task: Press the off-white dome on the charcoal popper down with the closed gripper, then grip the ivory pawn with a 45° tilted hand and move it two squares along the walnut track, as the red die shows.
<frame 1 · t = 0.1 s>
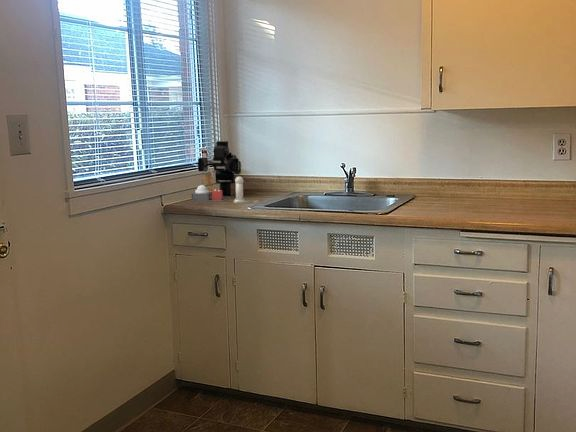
hand: (215, 166, 285), 17 cm above the counter, tool horizontal, fingers open, 9 cm apart
pawn: (239, 202, 282), point 1 cm above the counter, touching track board
track board: (250, 204, 284), on the counter
dome: (201, 190, 289), point 6 cm above the counter, slide at 0.0 cm
figurine: (210, 199, 300), on the counter
popper base: (209, 202, 289), on the counter
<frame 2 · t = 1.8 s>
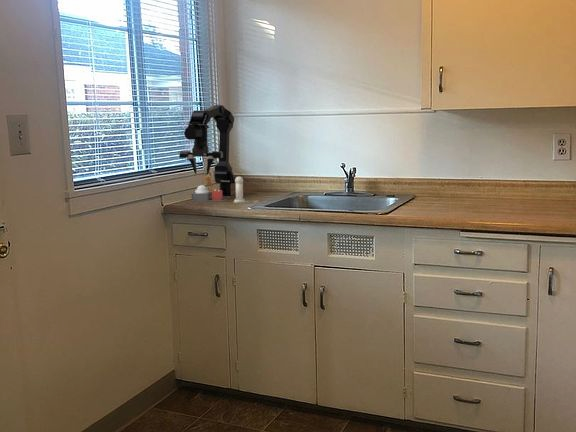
hand: (201, 173, 288), 13 cm above the counter, tool pointing down, fingers open, 5 cm apart
nothing on the counter moved.
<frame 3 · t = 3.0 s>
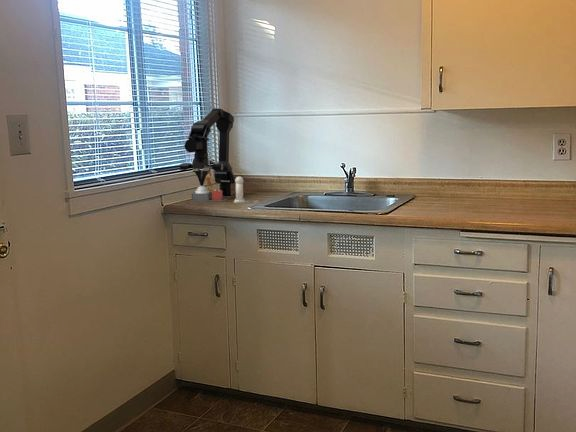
hand: (201, 185, 289), 8 cm above the counter, tool pointing down, fingers closed, pressing on dome
dome: (201, 190, 289), point 5 cm above the counter, slide at 0.3 cm, touching gripper
everything else where it was.
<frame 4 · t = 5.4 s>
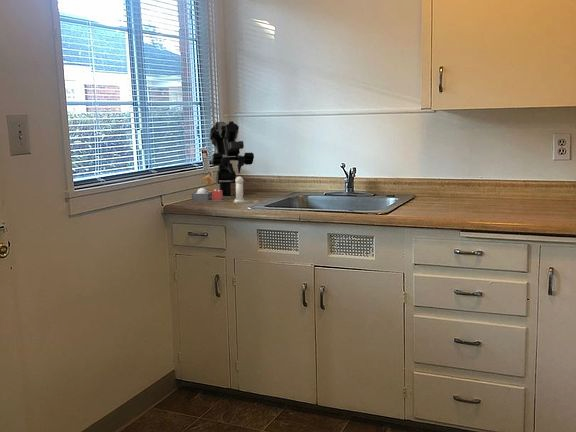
hand: (235, 173, 287), 14 cm above the counter, tool tilted 45°, fingers open, 3 cm apart
dome: (201, 193, 289), point 4 cm above the counter, slide at 1.3 cm
everything else where it was.
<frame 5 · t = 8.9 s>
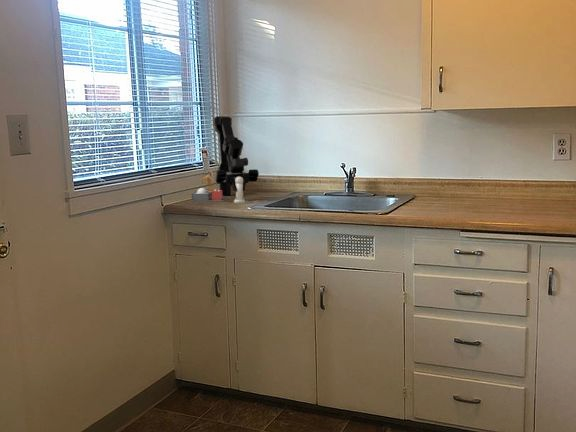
hand: (240, 190, 280), 7 cm above the counter, tool tilted 45°, fingers closed on pawn, 3 cm apart
pawn: (239, 202, 282), point 1 cm above the counter, touching gripper, track board
everything else where it was.
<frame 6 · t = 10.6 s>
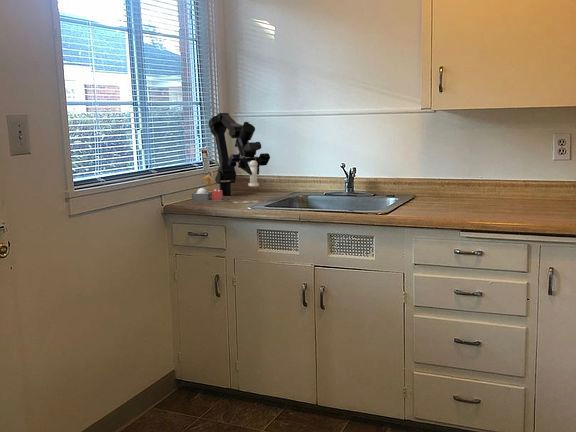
hand: (254, 174, 281), 14 cm above the counter, tool tilted 45°, fingers closed on pawn, 3 cm apart
pawn: (253, 185, 283), point 8 cm above the counter, touching gripper
everything else where it was.
when the fingers open (8 cm above the counter, at t = 12.4 s): pawn drops 1 cm, resting on track board.
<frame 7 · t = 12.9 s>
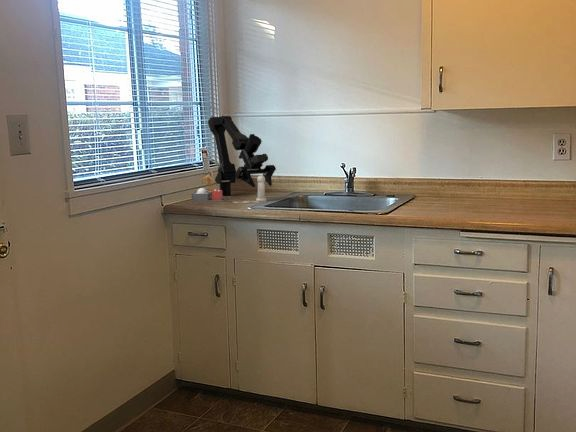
hand: (262, 186, 284), 8 cm above the counter, tool tilted 45°, fingers open, 8 cm apart
pawn: (261, 200, 286), point 1 cm above the counter, touching track board
everything else where it was.
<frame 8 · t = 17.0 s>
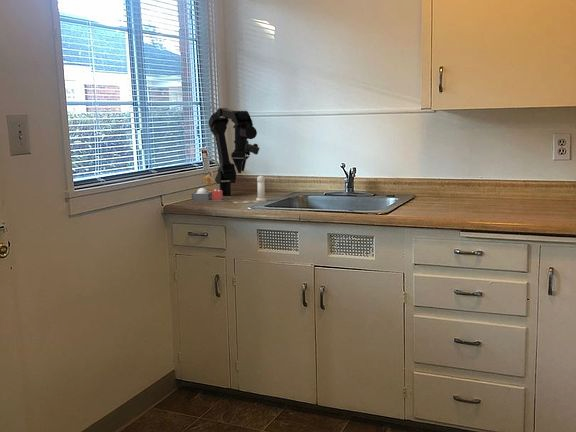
hand: (241, 172, 296), 13 cm above the counter, tool pointing down, fingers open, 9 cm apart
nothing on the counter moved.
at the end: dome slide at 1.3 cm; pawn 0.1 cm from the target spot, point 1.3 cm above the counter; pawn tilted 0° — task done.
